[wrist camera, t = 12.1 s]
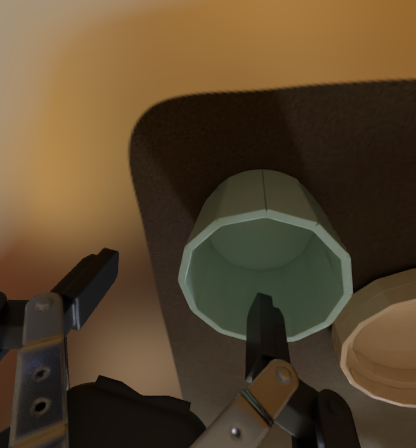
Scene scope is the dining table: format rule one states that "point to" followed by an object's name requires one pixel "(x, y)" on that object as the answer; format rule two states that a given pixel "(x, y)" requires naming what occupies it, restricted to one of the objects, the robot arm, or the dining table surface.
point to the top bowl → (265, 256)
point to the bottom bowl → (380, 339)
